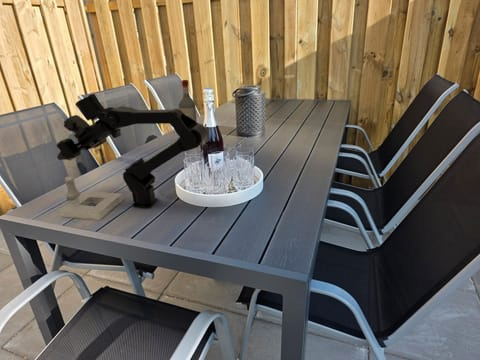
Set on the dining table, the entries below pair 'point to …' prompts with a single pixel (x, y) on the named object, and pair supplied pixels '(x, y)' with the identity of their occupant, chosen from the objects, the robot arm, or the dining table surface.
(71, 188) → the rook chess piece
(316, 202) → the dining table surface
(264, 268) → the dining table surface
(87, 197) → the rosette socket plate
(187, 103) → the liquor
